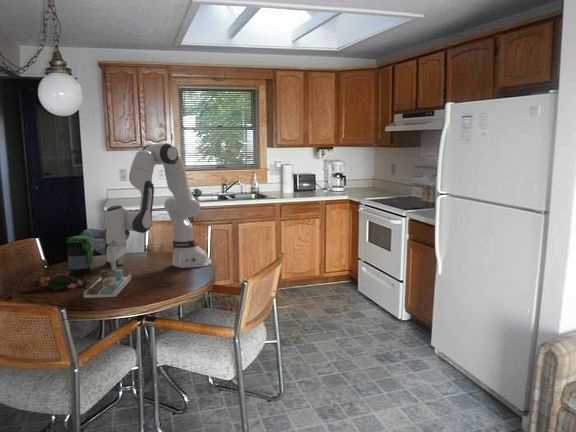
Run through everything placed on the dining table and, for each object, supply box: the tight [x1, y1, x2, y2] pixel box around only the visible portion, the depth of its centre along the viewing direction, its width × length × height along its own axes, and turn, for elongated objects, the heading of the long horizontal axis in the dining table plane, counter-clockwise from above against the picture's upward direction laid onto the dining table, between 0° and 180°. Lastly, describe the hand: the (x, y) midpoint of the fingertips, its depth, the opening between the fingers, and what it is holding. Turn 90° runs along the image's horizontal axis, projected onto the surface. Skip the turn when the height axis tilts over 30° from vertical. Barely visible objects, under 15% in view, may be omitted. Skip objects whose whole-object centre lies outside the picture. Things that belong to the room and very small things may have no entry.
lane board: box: [82, 274, 132, 299], centre depth 222 cm, size 14×28×2 cm, turn 4°
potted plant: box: [65, 235, 94, 276], centre depth 245 cm, size 11×13×20 cm
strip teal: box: [103, 268, 124, 294], centre depth 219 cm, size 4×20×6 cm, turn 4°
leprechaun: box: [28, 272, 88, 292], centre depth 221 cm, size 11×10×25 cm
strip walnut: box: [87, 269, 110, 294], centre depth 218 cm, size 4×20×6 cm, turn 4°
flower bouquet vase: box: [104, 228, 130, 268], centre depth 261 cm, size 15×15×30 cm
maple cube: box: [103, 276, 116, 290], centre depth 213 cm, size 4×4×4 cm
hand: (117, 266), depth 226 cm, fingers open, 8 cm apart
